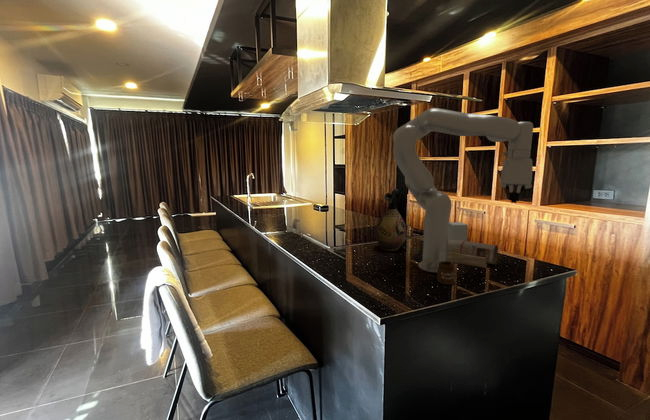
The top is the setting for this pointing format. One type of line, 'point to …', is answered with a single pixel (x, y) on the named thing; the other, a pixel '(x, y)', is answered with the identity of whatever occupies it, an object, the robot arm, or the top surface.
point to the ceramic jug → (391, 225)
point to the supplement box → (457, 231)
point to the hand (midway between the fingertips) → (513, 202)
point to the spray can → (474, 249)
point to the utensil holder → (446, 271)
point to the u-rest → (467, 260)
